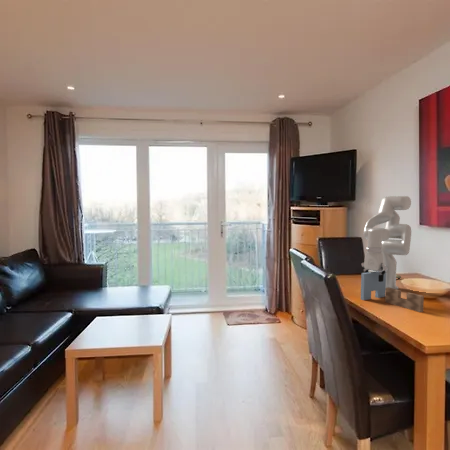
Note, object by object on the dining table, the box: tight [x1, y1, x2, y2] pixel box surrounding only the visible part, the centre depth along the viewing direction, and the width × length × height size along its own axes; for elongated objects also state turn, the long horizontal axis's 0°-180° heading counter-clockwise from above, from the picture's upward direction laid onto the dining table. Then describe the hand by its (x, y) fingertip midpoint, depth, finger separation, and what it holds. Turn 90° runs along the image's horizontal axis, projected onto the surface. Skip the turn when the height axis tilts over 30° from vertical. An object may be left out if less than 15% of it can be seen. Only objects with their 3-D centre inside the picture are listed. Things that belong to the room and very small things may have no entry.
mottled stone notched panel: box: [384, 287, 425, 313], centre depth 178 cm, size 20×2×8 cm, turn 27°
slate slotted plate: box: [360, 271, 386, 301], centre depth 194 cm, size 18×2×15 cm, turn 117°
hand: (373, 279), depth 194 cm, fingers open, 9 cm apart
